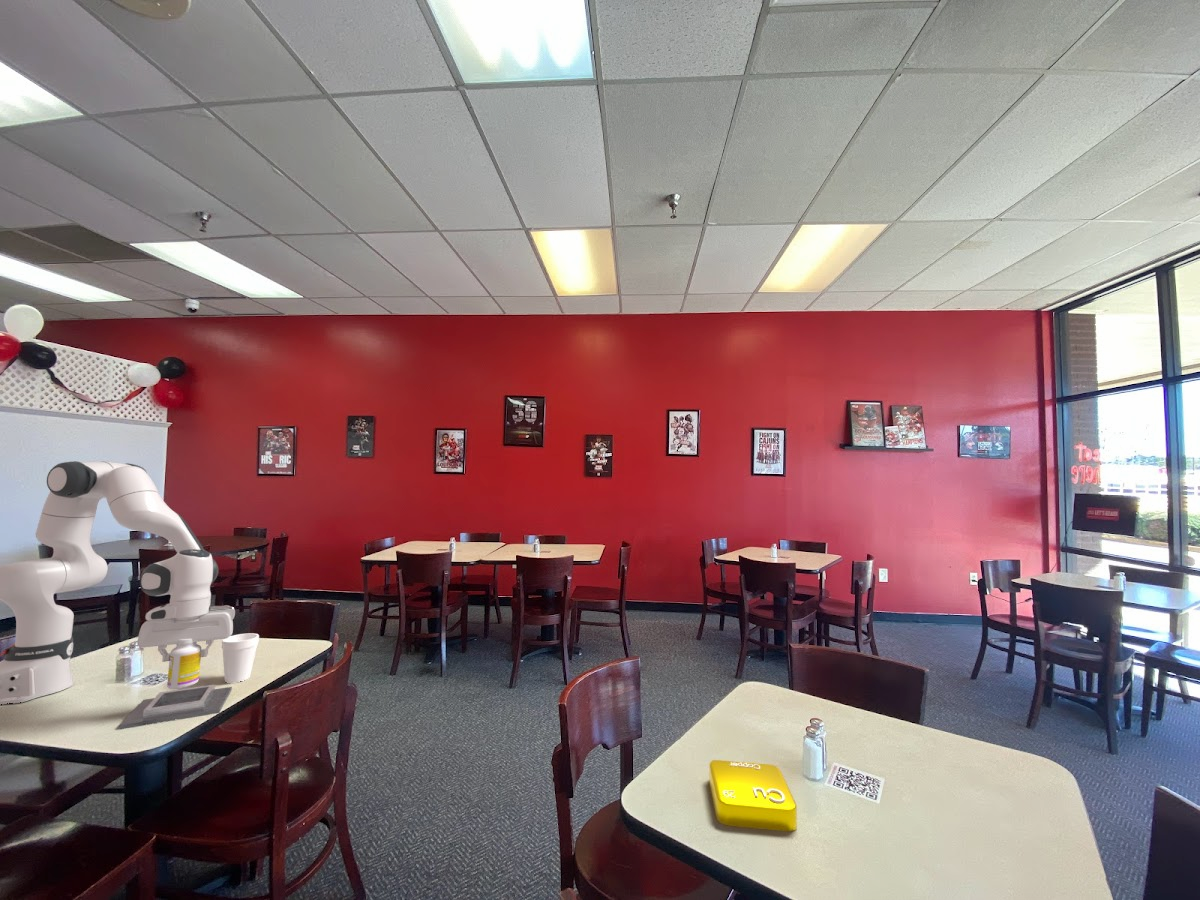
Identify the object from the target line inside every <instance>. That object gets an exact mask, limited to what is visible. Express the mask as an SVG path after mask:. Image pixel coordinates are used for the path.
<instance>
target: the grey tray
mask: <svg viewBox="0 0 1200 900" xmlns="http://www.w3.org/2000/svg"><path fill="white" fill-rule="evenodd" d="M232 690H233V687H232V686H229V687H228V686H227V687H222V688H216V684H209V685H202V686H196V687H186V688H179V689H172V690H166V691H160V692H158V694H156V696H155V697H153V698H145V699H143V700H142V701H141V702H140V703H139V704H138V705H137V706H136V707H135V709H133V711H132V712H131V713H130V714H129V715H128V716H126V718H125V719H124V720H123V721H122V722H121V723H120V724H119V730H122V728H123V729H129V728H135V727H141V726H146V724H147V725H151V724H152V723H154V724H158V723H157V722H160V723H164V722H163V721H166V722H170V720H172V721H176V720H175V719H178V720H182V719H188V718H196V717H200V716H208V715H212V714H219V713H221V710H222V709H223V707H224V705H225V703H226V701H227V700H228V698H229V696H230V695H231V692H232Z"/></svg>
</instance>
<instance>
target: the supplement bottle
mask: <svg viewBox="0 0 1200 900" xmlns="http://www.w3.org/2000/svg"><path fill="white" fill-rule="evenodd" d="M197 643H198V642H193V641H192V639H183V640H179V641H178V643H177V644H175V645H176V646H175V647H174V648H172V650H170V652H169V653H170V661H168V662H169V663H168V673H167V685H166V686H167V688H168V689H171V690H180V689H186V688H190V687H191V686H194V685H196V684H197V683H198V682H199V679H200V670H201V658H202V657H200V655H201V654H200V651H201V650H202V646H201V645H200V644H199V643H198V644H197Z"/></svg>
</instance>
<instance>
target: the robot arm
mask: <svg viewBox="0 0 1200 900" xmlns="http://www.w3.org/2000/svg"><path fill="white" fill-rule="evenodd" d="M46 486H47V488H48V489H49V490H50V492H49V493H48V495H47V497H46V498H45V499H46V500H45V501H44V504H43V507H42V510H41V513H40V516H39V521H38V524H37V528H36V532H35V537H36V540H37V541H38V542H40V543H41V544H43V545H44V546H48V547H50V548H52V549H53V553H52V555H51V557H46V558H37V559H27V560H20V561H16V562H11V563H8V564H3V565H0V601H1V602H3V603H5V604H6V605H7V606H8V607H9V608H10V609H11V610H12V612H13V614H14V617H15V621H16V623H15V626H16V627H15V640H14V643H12V644H11V645H10V646H8V647H6V648H5V649H4V650H3V651H1V652H0V653H1V654H0V656H3V660H1V661H0V705H1V704H2V705H10V704H9V703H13V704H20V702H21V703H24V702H28V701H30V700H34V699H36V698H40V697H44V696H48V695H51V694H54V693H57V692H60V691H63V690H66V689H68V688H70V687H72V686H73V685H74V684H75V682H74V681H75V680H74V678H73V673H72V668H71V667H72V666H71V656H72V653H73V651H74V636H73V635H72V634H73V626H74V618H75V617H74V616H75V615H74V611H72V609H70V608H68V607H67V606H63V605H59V604H57V603H56V601H55V599H54V595H55V594H60V593H67V592H73V591H79V590H82V589H85V588H86V589H87V588H90V587H92V586H95V585H97V584H100V583H102V581H103V580H104V579H105V578H106V576H107V574H108V570H109V567H108V563H107V561H106V560H105V559H104V558H103V557H102V556H100V555H99V554H97V553H96V552H95V550H94V549H93V547H92V543H91V535H92V528H93V525H94V521H95V517H96V513H97V510H98V505H99V502H100V501H101V500H102V499H103V498H105V499H106V501H107V505H108V507H109V510H110V512H111V515H112V517H113V519H114V520H115V521H116V523H118V524H119V525H120V526H121V527H123V528H125V529H128V530H131V531H137V532H143V533H149V534H153V535H156V536H159V537H162V538H164V539H166V540H167V541H168V542H170V544H171V545H172V547H173V549H174V550H175V552H176V554H175V555H174V556H172V557H170V558H166V559H164V560H161V561H157V562H153V563H150V564H148V565H147V566H146V567H145V568H144V569H143V570H142V573H141V575H140V578H139V586H140V589H141V591H142V592H143V593H145V594H146V595H148V596H151V597H162V596H167V595H170V598H169V603H165V604H163V605H160V606H157V607H154V608H152V609H150V610H149V611H147V612H146V613H145V620H146V621H144V623H143V624H141V627H140V629H139V633H138V636H137V642H136V644H137V646H138V647H139V648H140V649H141V648H151V647H157V651H158V652H159V654H160V655H161V657H162V660H161V662H162V663H164V662H169V661H170V652H168V651H167V650H166V648H167V647H168V646H169V645H170V646H171V645H176V644H177V643H178V641H179V640H183V639H192V641H193V642H197V643H198V642H199V643H200V642H205V645H206V647H205V648H203V649H202V648H201V651H200V654H201V655H200V657H201V658H206V657H207V656H208V655H209V654H208V653H209V649H210V647H211V646H212V645H213V643H214V642H215V640H217V641H218V640H223V639H227V638H228V637H230V636H232V635H233V633H234V632H233V631H234V621H233V620H234V619H235V616H236V609H235V607H233V606H230V605H227V604H225V605H212V606H211V599H212V592H211V585H213V583H214V582H215V580H216V579H217V577H218V575H219V566H218V563H217V562H216V560H215V559H214V558H213V556H212V553H211V552H210V551H207V550H205V549H204V547H203V546H202V543H201V542H200V541H199V539H198V538H197V536H196V535H195V533H194V531H193V530H192V528H191V527H190V526H189V524H188V523H187V521H186V520H185V519H184V517H182V515H180V514H179V513H177V512H176V511H174V510H173V509H171V508H170V507H169V505H167V503H166V502H165V501H164V500H163V498H162V497H161V495H160V492H159V489H158V488H157V486H156V484H155V483H154V481H153V479H152V478H151V477H150V475H149V474H148V472H147V470H146V469H145V468H144V467H143V466H140V465H137V464H133V463H129V462H128V463H127V462H126V463H120V462H114V461H76V460H75V461H65V462H60V463H57V464H56V465H54V466H53V467H52V468H51V469H50V471H48V474H47V476H46ZM7 703H8V704H7Z"/></svg>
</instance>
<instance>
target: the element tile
mask: <svg viewBox="0 0 1200 900" xmlns="http://www.w3.org/2000/svg"><path fill="white" fill-rule="evenodd" d="M708 769H709V772H708V773H709V774H708V775H709V780H708V781H709V788H710V792H711V797H712V802H713V807H714V813H715V817H716V819H717V820H718V823H720V824H722V825H726V826H730V827H739V828H750V829H758V830H759V829H760V830H770V831H782V832H794V831H796V830H797V828H798V821H797V820H798V817H797V816H798V815H797V814H798V813H797V812H798V811H797V810H798V808H797V803H796V801H795V799H794V796H793V794H792V792H791V791H790V788H789V786H788V783H787V782H786V779H785V777H784V775H783V772H782V771H781V769H780V768H779V767H777V765H774V764H769V763H759V762H747V761H746V762H744V761H734V760H732V761H731V760H722V759H713V760H711V761H710V762H709V767H708Z"/></svg>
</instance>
